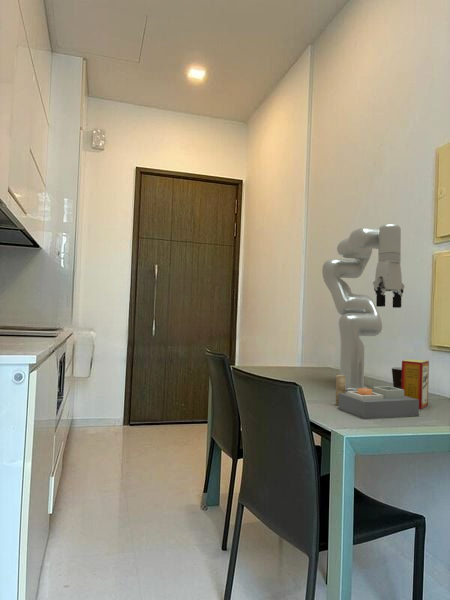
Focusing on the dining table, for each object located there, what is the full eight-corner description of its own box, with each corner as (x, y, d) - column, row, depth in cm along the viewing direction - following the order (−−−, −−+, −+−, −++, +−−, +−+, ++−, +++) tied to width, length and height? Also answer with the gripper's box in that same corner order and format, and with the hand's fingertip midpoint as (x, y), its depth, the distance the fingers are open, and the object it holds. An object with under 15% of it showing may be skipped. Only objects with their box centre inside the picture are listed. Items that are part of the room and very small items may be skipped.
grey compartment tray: (338, 408, 147) (338, 385, 147) (388, 406, 153) (389, 384, 153) (364, 418, 133) (365, 393, 134) (418, 415, 140) (419, 391, 140)
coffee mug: (389, 394, 176) (390, 368, 176) (392, 391, 184) (393, 366, 184) (421, 397, 171) (422, 371, 171) (423, 394, 178) (423, 369, 179)
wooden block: (334, 404, 154) (334, 375, 154) (341, 403, 155) (342, 374, 155) (338, 406, 151) (339, 376, 151) (346, 405, 152) (347, 376, 152)
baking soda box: (408, 402, 161) (409, 357, 161) (427, 405, 157) (428, 359, 157) (400, 406, 153) (401, 359, 154) (421, 409, 149) (422, 361, 150)
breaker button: (354, 400, 143) (354, 388, 143) (366, 400, 144) (366, 387, 145) (362, 403, 139) (363, 390, 139) (374, 402, 140) (375, 390, 140)
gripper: (394, 262, 168) (393, 308, 167) (365, 257, 158) (365, 306, 157) (412, 260, 162) (412, 307, 161) (384, 255, 152) (383, 305, 151)
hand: (389, 307), depth 159 cm, fingers open, 9 cm apart
